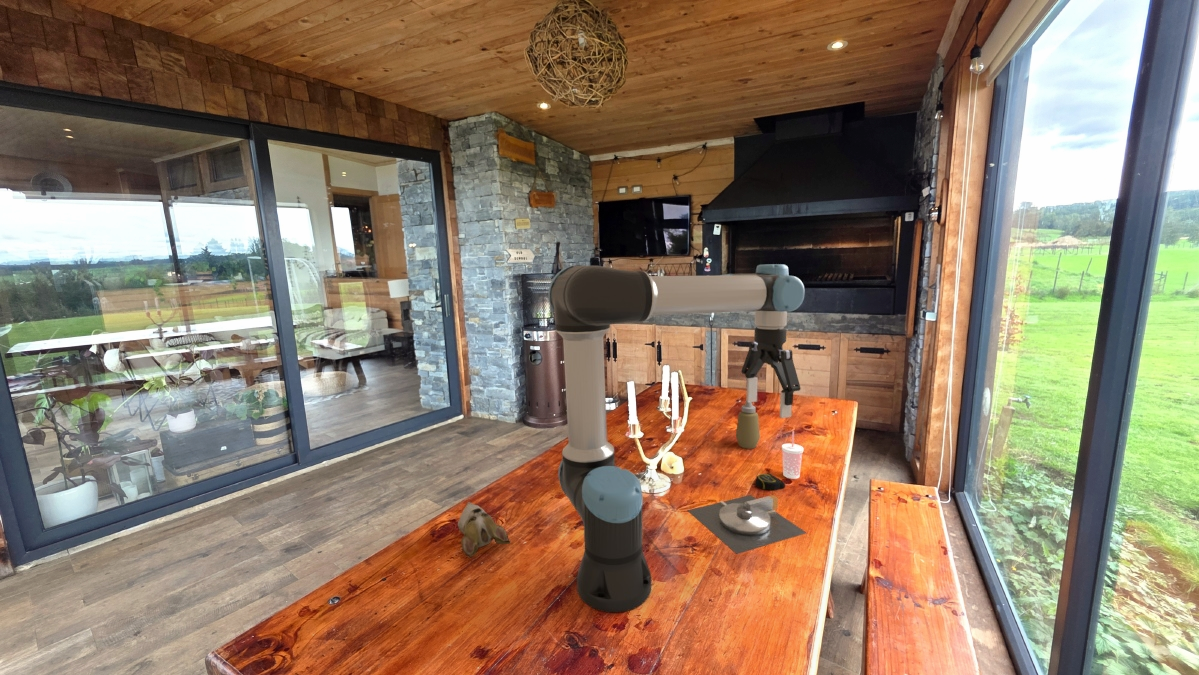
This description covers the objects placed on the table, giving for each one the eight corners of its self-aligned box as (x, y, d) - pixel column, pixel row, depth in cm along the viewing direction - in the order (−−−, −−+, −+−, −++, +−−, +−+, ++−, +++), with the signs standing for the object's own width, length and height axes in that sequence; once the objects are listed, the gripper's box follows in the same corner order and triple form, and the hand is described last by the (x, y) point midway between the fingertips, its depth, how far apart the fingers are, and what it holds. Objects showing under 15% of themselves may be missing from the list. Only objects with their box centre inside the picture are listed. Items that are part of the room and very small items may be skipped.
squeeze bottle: (762, 444, 168) (763, 395, 165) (756, 452, 161) (757, 401, 158) (739, 440, 172) (740, 392, 170) (732, 447, 166) (733, 397, 163)
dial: (739, 539, 109) (740, 521, 108) (709, 514, 120) (709, 498, 119) (792, 524, 115) (793, 507, 114) (758, 501, 126) (759, 486, 125)
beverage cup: (796, 481, 140) (798, 436, 137) (776, 475, 144) (778, 431, 142) (806, 475, 143) (808, 431, 141) (786, 469, 148) (788, 426, 146)
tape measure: (786, 493, 133) (786, 481, 133) (765, 497, 131) (765, 485, 131) (770, 483, 140) (770, 471, 139) (750, 486, 138) (750, 474, 137)
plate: (736, 560, 104) (736, 551, 104) (687, 515, 123) (687, 508, 122) (806, 538, 111) (807, 530, 111) (750, 499, 130) (750, 492, 129)
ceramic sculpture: (488, 489, 121) (511, 519, 108) (490, 520, 122) (513, 552, 110) (446, 502, 115) (465, 534, 103) (448, 534, 117) (468, 569, 104)
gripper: (819, 332, 107) (815, 422, 111) (753, 320, 131) (751, 394, 134) (791, 335, 105) (788, 426, 109) (729, 322, 129) (728, 397, 132)
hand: (767, 409), depth 121 cm, fingers open, 13 cm apart
